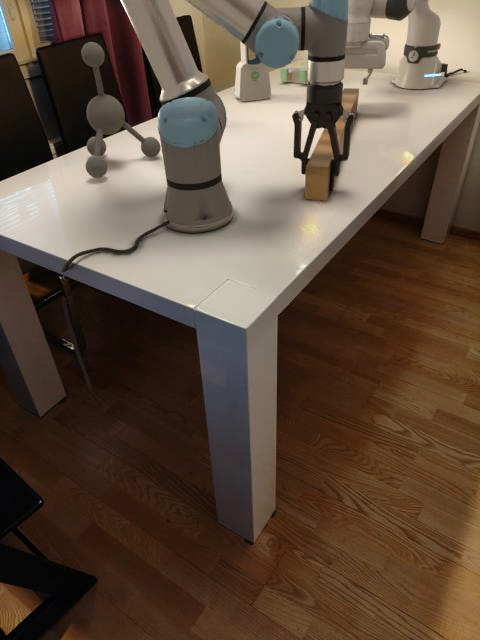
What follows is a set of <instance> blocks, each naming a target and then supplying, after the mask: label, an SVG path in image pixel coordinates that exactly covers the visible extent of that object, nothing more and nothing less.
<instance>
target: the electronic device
mask: <svg viewBox="0 0 480 640" xmlns="http://www.w3.org/2000/svg"><path fill="white" fill-rule="evenodd" d="M239 46H240V47H239V48H240V60H239V62H238V63H237V64H236V68H235V69H236V70H235V80H234V82H235V83H234V95H235V96H236V97H237V99H239V100H240V101H241V102H242V103H244V102H251V101H261V100H268V99H270V97H271V95H272V89H271V78H270V67H268V66H266V65H265V64H263V63H262V62H261V61H260V59H259V58H258V56H257V55H256V53H254V54H255V55H254V56H255V58H253V59H249V58H250V57H249V48H248V47H246V46H245V45H244V44H243V43H242V42H241V41H239Z"/></svg>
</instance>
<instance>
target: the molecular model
mask: <svg viewBox="0 0 480 640" xmlns="http://www.w3.org/2000/svg"><path fill="white" fill-rule="evenodd" d="M80 53H81V54H80V55H81V59H82V60H83V62H84V63H85V64H86V65H87V66H89V67H91V68H92V70H93V75H94V80H95V85H96V90H97V95H96V96H94V97H93V98H91V99H90V101H89V102H88V104H87V107H86V118H87V121H88V123H89V126H90V127H91V128H92V129H93V130H94V131H95V136H91V137H89V139H88V140H87V142H86V149H87V151H88V153H89V154H90V155H91V156H90V157H88V158H87V159H86V162H85V170H86V172H87V174H88V175H89V176H90V177H92V178H96V179H100V178H103V177H104V176H106V175H107V172H108V163H107V161H106V160H105V159H104V158H103V157H102V156H103V155H105V154H106V152H107V144H106V141H105V140H104V135H106V136H109V135H114V134H116V133H118V132H119V131H120V130H121V129H122V128H123V129H125V130H126V131H127V132H128V133H129V134H130V135H131V136H133V137H134V138H135V139H136V140H137V141H138V142H140V150H141V152H142V154H143V155H144V156H146V157H147V158H155V157H157V156H159V154H160V153H161V142H160V141H159V139H157V138H156V137H153V136H147V137H144V136H142V134H140V133H139V132H138V131H136V129H135V128H133V127H132V126H131V125H130V124H129V123H127V122H126V121H125V120H126V114H125V110H124V107H123V105H122V104H121V102H120V101H119V100H118V99H117V98H116V97H114V96H112V95H110V94H105V91H104V86H103V79H102V75H101V71H100V70H101V69H100V66H102V65H103V63H104V62H105V57H106V55H105V51H104V49H103V48H102V46H101V45H100V44H99V43H97V42H95V41H88V42H86V43H85V44H84V45H82V48H81V52H80Z"/></svg>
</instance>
